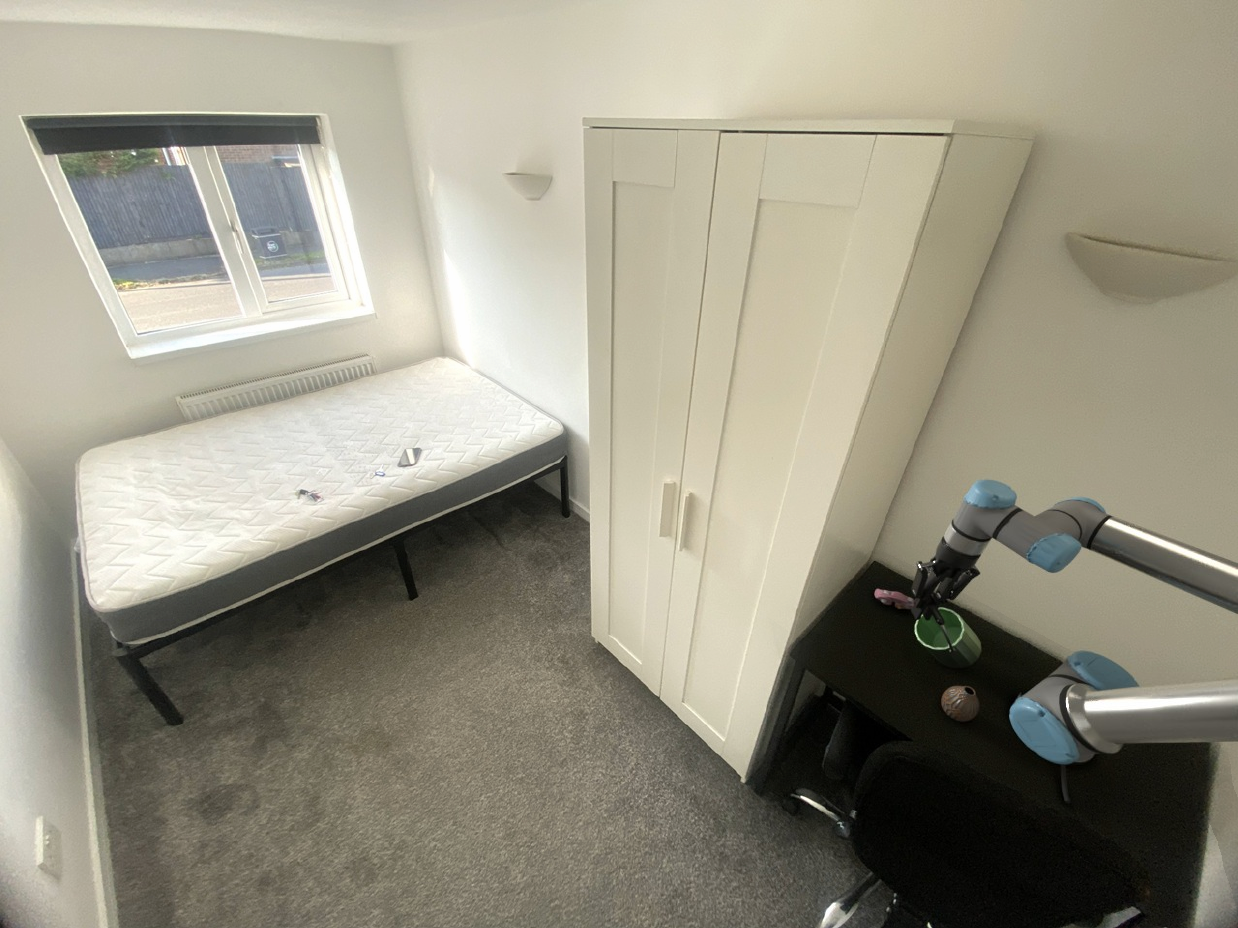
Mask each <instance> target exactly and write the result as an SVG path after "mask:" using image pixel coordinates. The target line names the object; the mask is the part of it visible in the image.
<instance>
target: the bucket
mask: <svg viewBox="0 0 1238 928" xmlns="http://www.w3.org/2000/svg"><path fill="white" fill-rule="evenodd" d="M928 599H929V601H930V603H929V604H928V608H929V610H930V611H931V613H932V617H931V618H930V620H925V618H924V616H923V614H922V616H921V618H920V619H919V620H916V621H915V624H914V635H915V636H916V639H917V641H918V642H919V643H920V644H921V645H922V646H923V647H924V648H925V649H926V650H927V652H928V653H930V654H931V656H933V658H935V659H936V660H937V661H938V662H939V663H940V665H942V666H945V667H948V668H950V669H964V668H967V667H970V666H972V665H973V664H974V663H975V662H977V661H978V660H979V658H980V655H981V653H982V645H981V641H980V639H979V637H978V636H977V634H976V633H975V631H973V629H972V628H971V627H970V625H968V623H966V621H965V620H964V619H963V617H962V616H961V615H960V614H959V613H957V612H955V610H953V609H951V608H947V607H944V606H943V607H941V606H940V607H939V608H937V607H936V605H935V603H934V602H933V600H932V598H931V596H930V597H929V598H928Z"/></svg>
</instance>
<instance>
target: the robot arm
mask: <svg viewBox="0 0 1238 928" xmlns="http://www.w3.org/2000/svg"><path fill="white" fill-rule="evenodd" d="M1017 498H1018V495H1017V492H1016V491H1015V490H1013V489H1012V488H1011V486H1009V485H1007V484H1006V483H1003V482H1001V481H998V480H994V479H987V478H986V479H980V480H976V481H975V482H974V483H973V484H972V485H971V487H970V488H969V490H968V492H967V493H966V495H964V496H963V499H962V501H961V503H960V505H959V507H958V509H957V511H956V512H955V515H954V516H953V518H952V520H951V521H950V524H949V525H948V527H947V529H946V531H945V532H944V535H943V536H942V538H941V540H940V541H939V543H938V545H937V546H936V548H935V549H936V550H935V555H934V556H932V557H931V558H930V560H929V561H927V562H924V563H923V561H922V560H919V561H916V568H917V569H916V572H915V576H914V578H913V582H912V584H911V587H910V590H911V592H912V594H913V596H914V598H915V599H914V606H913V608H912V609H910V612H911V613H912V615H913V617H914V619H915V620H916V621H917V620H919V619H920V618H921V616H922V614H923V616H924V618H925V620H930V618H931V617H932V613H931V611H930V610H929V608H928V604H929V603H930V601H929V599H928V598H929V597H930V596H931V598H932V600H933V602H934V603H935V605H936V607H937V608H940V607H941V606H942V605H944V606H945V605H947V604H948V603H949V602H948V601H947V600H950V601H955V600H956V599H957V598H958V597H959V595H961V593H962V592H963V591H964V589H965V588H966V587H967V586H968V585H969V584H970V583H971V582H972V581H973V579H975V578H977V577H979V576H980V575H981V572H980V570H979V569H978V567H977V566H976V564H977V562H978V561H979V559H980V558H981V556H982V554H983V553H984V552H985V550H986V548H987V547H988V545H989V543H990V542H991V540H992V539H993V540H995V541H997V542H998V543H1000V544H1001V545H1002V546H1005V547H1006V548H1008V550H1010V551H1012V552H1014V553H1016V554H1017V555H1018V556H1020V557H1022V558H1023V559H1024V560H1026V561H1027V562H1028V563H1030V564H1032V565H1035V566H1037V567H1039V568H1040V569H1042V570H1044V571H1045V572H1047V573H1050V574H1056V573H1059V572H1061V571H1063V570H1064V569H1065V568H1066V567H1067V566H1068V565H1069V564H1070V563H1072V561H1073V560H1074V559H1075V558H1076V557H1077V556H1078V555H1079V554H1080V552H1081V550H1082V548H1084V549H1087V550H1089V551H1091V552H1093V553H1096V554H1098V555H1101V556H1103V557H1105V558H1108V559H1109V560H1112V561H1114V562H1117V563H1119V564H1121V565H1123V566H1126V567H1128V568H1130V569H1133V570H1135V571H1137V572H1140V573H1141V574H1144V575H1146V576H1149V577H1151V578H1153V579H1155V580H1158V581H1160V582H1162V583H1164V584H1167V585H1169V586H1171V587H1174V588H1175V589H1176V588H1177V589H1178V590H1181V591H1183V592H1186V593H1188V594H1190V595H1192V596H1195V597H1197V598H1199V599H1202V600H1203V601H1205V602H1208V603H1211V604H1212V605H1215V606H1218V607H1219V608H1220V607H1221V608H1222V609H1225V610H1226V611H1229V612H1232V613H1234V614H1236V615H1238V562H1236V561H1233V560H1230V559H1227V558H1225V557H1222V556H1219V555H1217V554H1214V553H1212V552H1209V551H1206V550H1204V549H1201V548H1198V547H1195V546H1193V545H1190V544H1188V543H1185V542H1182V541H1181V540H1180V541H1179V540H1177V539H1174V538H1172V537H1169V536H1167V535H1164V534H1161V533H1158V532H1156V531H1153V530H1151V529H1148V528H1145V527H1142V526H1139V525H1137V524H1135V523H1133V522H1130V521H1127V520H1124V519H1121V518H1118V517H1115V516H1113V515H1111V514H1108V513H1107V511H1106V509H1105V508H1104V507H1103V506H1102V505H1101V504H1100V503H1099V502H1098V501H1096V500H1094V499H1092V498H1090V497H1085V496H1073V497H1070V498H1067V499H1064V500H1061V501H1059V502H1057V503H1054V505H1052V506H1051V507H1049V508H1047V509H1046V510H1044V511H1042V512H1039V513H1038V514H1036V515H1033V514H1032V513H1030V512H1028V511H1026V510H1025V509H1022V508H1021V507H1019V506H1017V505H1016V502H1017ZM934 592H935V593H934ZM1008 717H1009V721H1010V724H1011V726H1012V729H1013V730H1014V733H1016V735H1017V736H1018V738H1019V739H1020V740H1021V741H1022V743H1024V745H1025V746H1026V747H1027V748H1029V749H1030V750H1031V751H1033V752H1034V753H1036V754H1037V755H1038V756H1039V757H1041V758H1043V759H1044V760H1047V761H1049V762H1051V763H1053V764H1057V765H1059V769H1060V779H1061V780H1060V781H1061V790H1062V796H1063V798H1064V802H1065V803H1066V804H1071V798H1070V795H1069V790H1068V778H1067V770H1066V769H1067V768H1066V767H1067V766H1066V765H1068V766H1081V765H1084V764H1086V763H1088V762H1089V761H1090V760H1091V759H1092V758H1093V757H1095V755H1096V754H1097V755H1098V754H1100V755H1102V754H1103V755H1104V754H1105V755H1106V754H1107V755H1108V754H1109V755H1110V754H1116V753H1118V752H1120V750H1121V749H1122V748H1123V746H1124V744H1170V743H1171V744H1172V743H1173V744H1174V743H1180V744H1181V743H1227V742H1228V743H1229V742H1230V743H1234V742H1235V743H1237V742H1238V676H1229V677H1218V678H1210V679H1209V678H1207V679H1199V680H1189V681H1181V682H1180V681H1178V682H1171V683H1170V682H1169V683H1160V684H1150V685H1139V683H1138V682H1137V680H1135V678H1134V677H1133V675H1132V674H1130V673H1129V671H1127V670H1126V669H1125V668H1124V667H1122V666H1121V665H1120V664H1118V663H1117V662H1116V661H1113V660H1112V659H1111V658H1108V657H1106V656H1104V655H1102V654H1099V653H1095V652H1093V651H1090V650H1083V649H1082V650H1076V651H1073V652H1072V653H1071V654H1070V655H1068V656H1067V657H1066V660H1064V662H1063V663H1062V664H1061V665H1060V666H1059V667H1057V669H1055V670H1053V672H1052V673H1050V674H1049V675H1047V677H1045V678H1044V679H1043V680H1041V681H1040V682H1039V683H1038V684H1036V685H1035V686H1034V687H1032V688H1031V689H1030V690H1028V691H1027V692H1026V693H1024V694H1022V692H1019V693H1018V695H1017V698H1015V700H1014V701H1013V702H1012V703H1011V706H1010V709H1009V716H1008Z"/></svg>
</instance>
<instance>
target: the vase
mask: <svg viewBox="0 0 1238 928" xmlns="http://www.w3.org/2000/svg"><path fill="white" fill-rule="evenodd" d="M940 701H941V702H940V703H941V707H942V710H943V712H944V713H945V714H946V715H947V716H948V717H949V718H950V719H952V720H954V721H957V722H961V723H965V722H969V721H971V720H973V719H974V718H975V717H976V716H977V715H978V713H979V711H980V701H979V699H978V696H977V692H976V691H975V689H974V688H973V687H971V686H970V685H964V686H963V685H953V686H950V687H948V688H947V689H945V691H944V692H943V694H942V696H941V700H940Z"/></svg>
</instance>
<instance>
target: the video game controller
mask: <svg viewBox="0 0 1238 928" xmlns="http://www.w3.org/2000/svg"><path fill="white" fill-rule="evenodd" d="M874 597H875V598H876V599H877V600H878V601H879V602H881V603H882V604H883V605H887V606H891V605H892V604H893V603H894V607H895V608H897V609H898V610H900V609H901V610H904V609H906V610H912V608H913V606H914V601H915V599H914V598H912V597H910V596H907V595H905V594H904V593H902V592H899V591H891V590H886V589H880V588H876V589H875V591H874Z"/></svg>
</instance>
